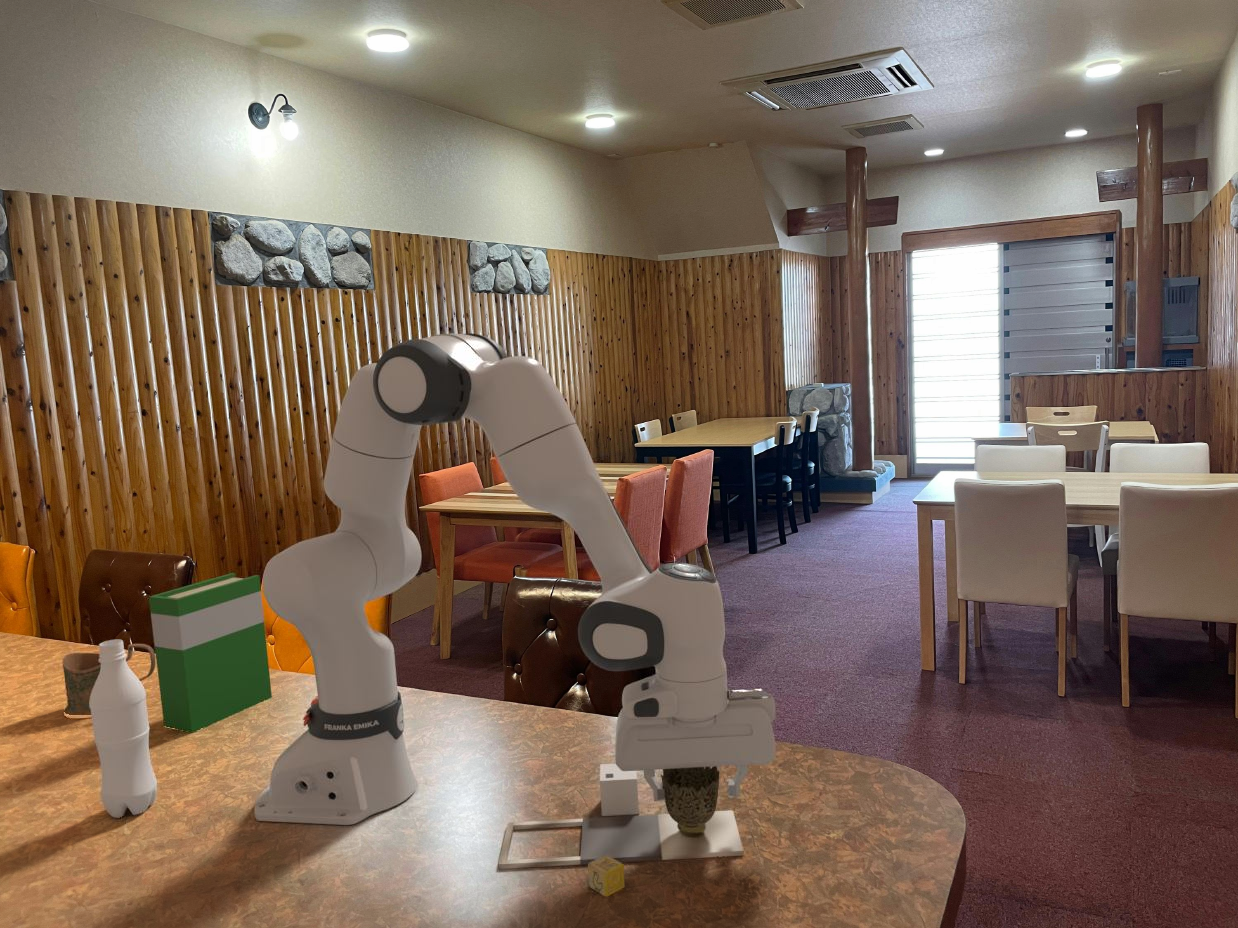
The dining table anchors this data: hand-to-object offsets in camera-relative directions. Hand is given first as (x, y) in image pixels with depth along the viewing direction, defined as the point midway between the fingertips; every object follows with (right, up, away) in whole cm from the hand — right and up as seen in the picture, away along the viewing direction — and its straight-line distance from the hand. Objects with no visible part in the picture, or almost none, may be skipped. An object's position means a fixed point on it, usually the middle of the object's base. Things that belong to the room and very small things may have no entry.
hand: (696, 797), depth 116 cm
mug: (-107, -4, +59) cm, 122 cm away
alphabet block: (-11, -7, -9) cm, 16 cm away
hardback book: (-84, -4, +53) cm, 99 cm away
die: (-10, -5, +9) cm, 14 cm away
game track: (-10, -6, +1) cm, 11 cm away
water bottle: (-81, -8, +16) cm, 83 cm away
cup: (-1, -5, +1) cm, 5 cm away
